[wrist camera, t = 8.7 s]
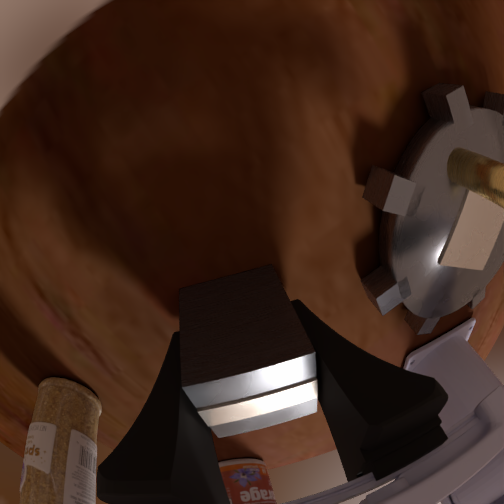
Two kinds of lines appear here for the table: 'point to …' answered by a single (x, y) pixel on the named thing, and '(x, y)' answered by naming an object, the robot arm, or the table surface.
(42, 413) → the sprinkles bottle
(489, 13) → the table surface
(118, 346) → the table surface
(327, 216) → the table surface
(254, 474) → the pill bottle
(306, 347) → the grooved silver cube
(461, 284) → the sprocket
